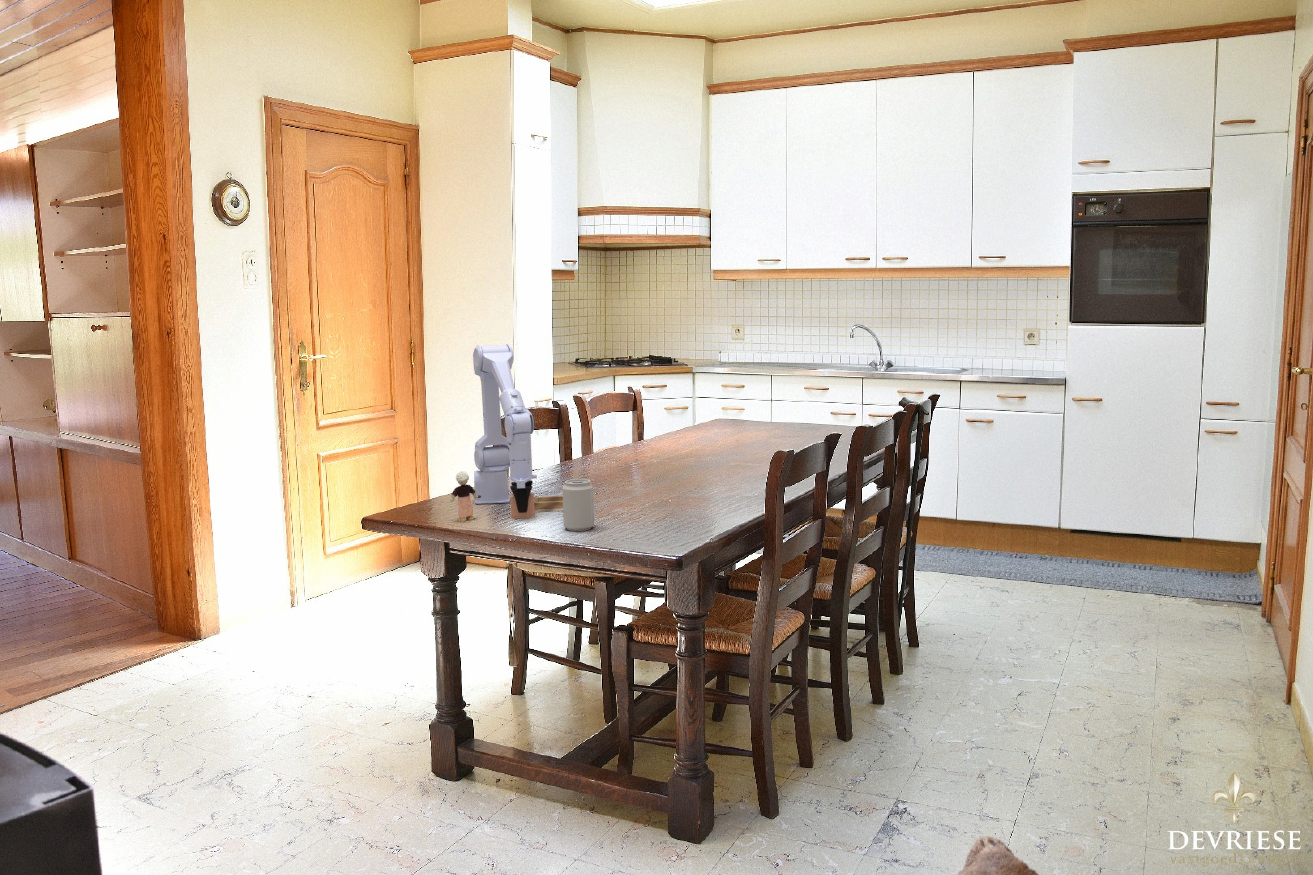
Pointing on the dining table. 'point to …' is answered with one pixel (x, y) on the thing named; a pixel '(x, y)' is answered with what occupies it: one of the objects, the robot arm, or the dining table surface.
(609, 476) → the dining table surface
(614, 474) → the dining table surface
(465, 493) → the grandmother figurine
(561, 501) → the frame
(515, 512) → the salmon block
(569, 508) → the can
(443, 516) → the dining table surface
